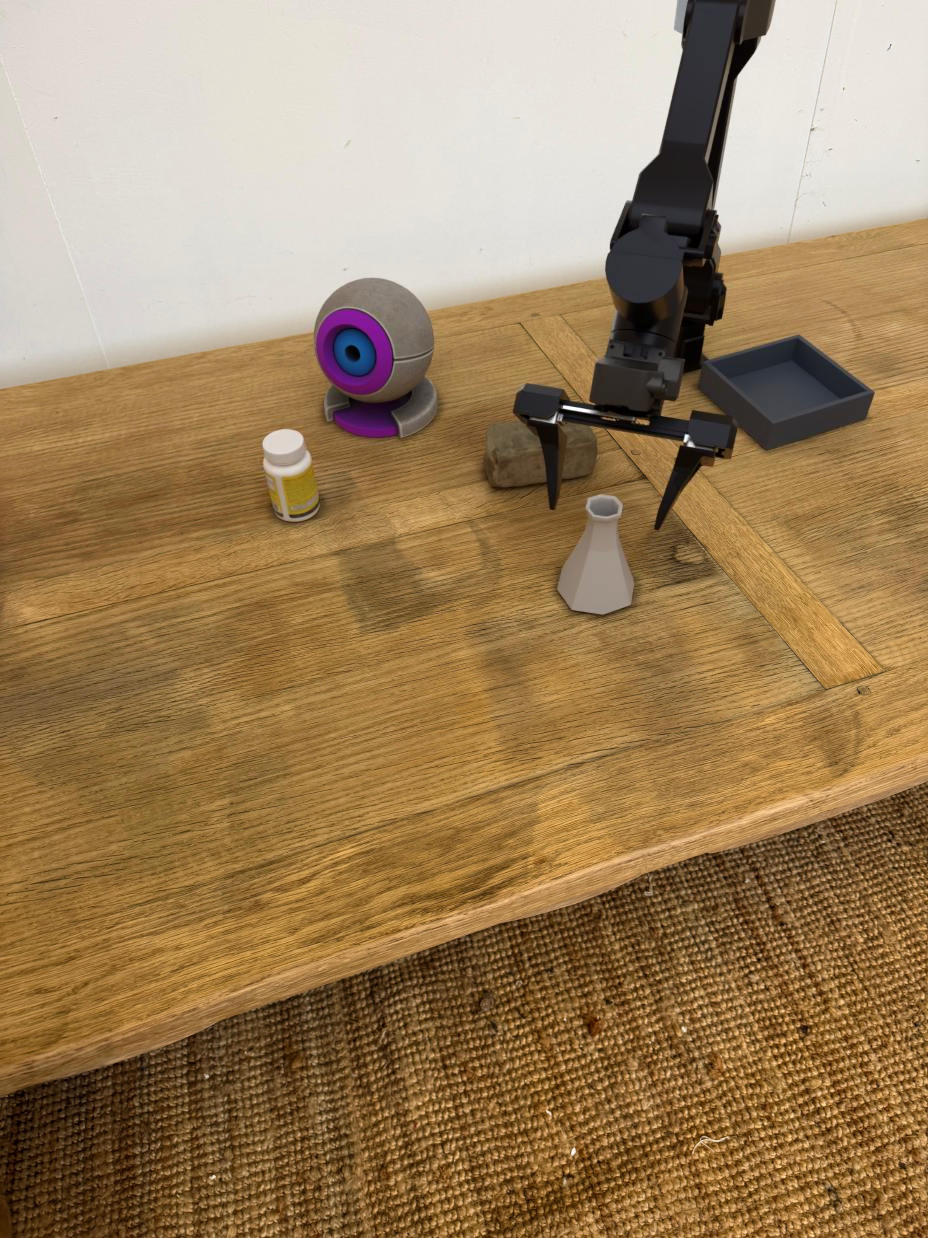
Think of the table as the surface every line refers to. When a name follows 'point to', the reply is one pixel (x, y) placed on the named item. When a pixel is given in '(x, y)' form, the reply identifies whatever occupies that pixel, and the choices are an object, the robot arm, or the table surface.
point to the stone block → (534, 454)
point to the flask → (598, 562)
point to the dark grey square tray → (784, 391)
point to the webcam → (376, 359)
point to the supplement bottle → (290, 476)
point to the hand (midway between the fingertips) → (603, 519)
